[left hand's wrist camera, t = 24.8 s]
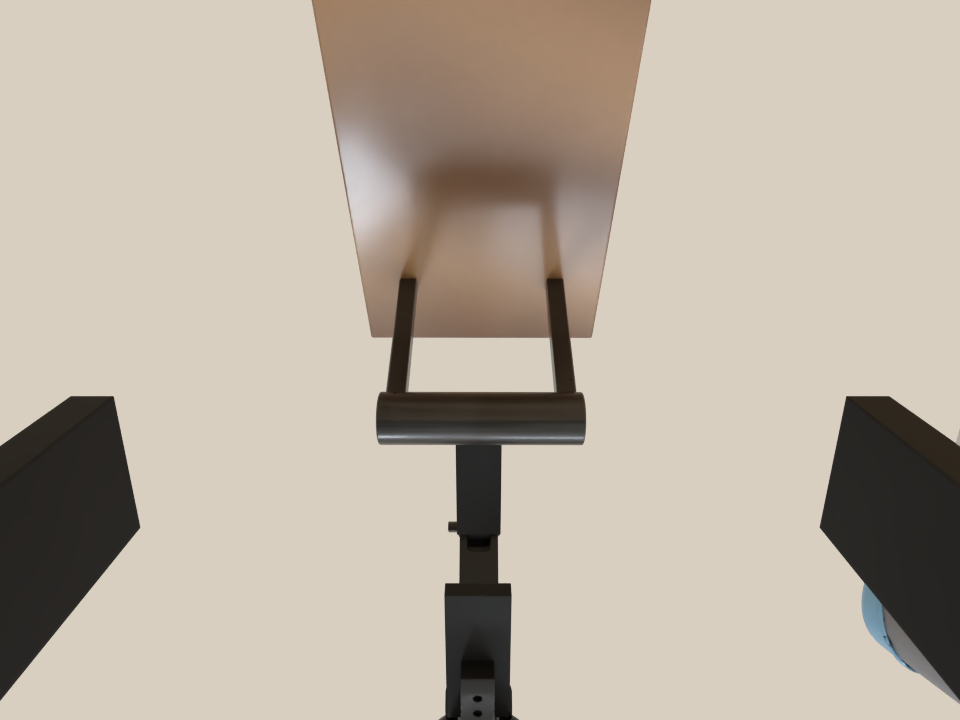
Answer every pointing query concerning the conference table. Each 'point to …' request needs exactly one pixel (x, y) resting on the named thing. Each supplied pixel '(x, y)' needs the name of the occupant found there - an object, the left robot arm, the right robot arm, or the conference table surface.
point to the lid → (481, 188)
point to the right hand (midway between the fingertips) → (478, 498)
